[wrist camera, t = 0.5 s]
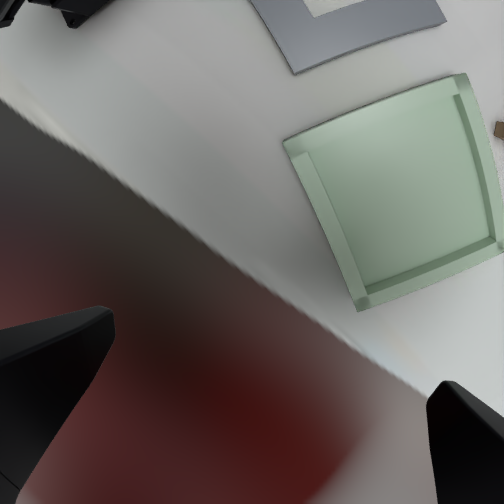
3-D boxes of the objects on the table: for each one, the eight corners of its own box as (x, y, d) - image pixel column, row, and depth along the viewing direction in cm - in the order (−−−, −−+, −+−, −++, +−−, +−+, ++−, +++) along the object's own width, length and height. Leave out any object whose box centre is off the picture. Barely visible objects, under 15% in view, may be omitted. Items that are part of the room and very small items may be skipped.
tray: (284, 139, 18) (281, 142, 16) (453, 74, 14) (465, 72, 13) (354, 297, 22) (357, 312, 20) (497, 238, 18) (508, 249, 16)
